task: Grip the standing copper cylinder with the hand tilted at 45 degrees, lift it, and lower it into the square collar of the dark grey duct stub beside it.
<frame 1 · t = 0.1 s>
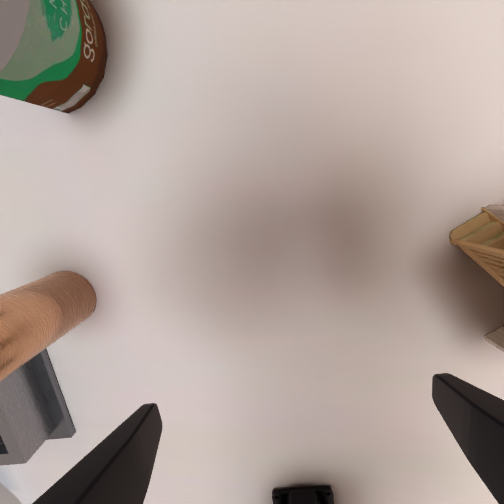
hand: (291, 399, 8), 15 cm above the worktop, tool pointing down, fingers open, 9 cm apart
food container: (80, 35, 19), on the worktop
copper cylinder: (69, 296, 24), on the worktop
duct stub: (2, 389, 26), on the worktop
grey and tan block: (478, 276, 23), on the worktop
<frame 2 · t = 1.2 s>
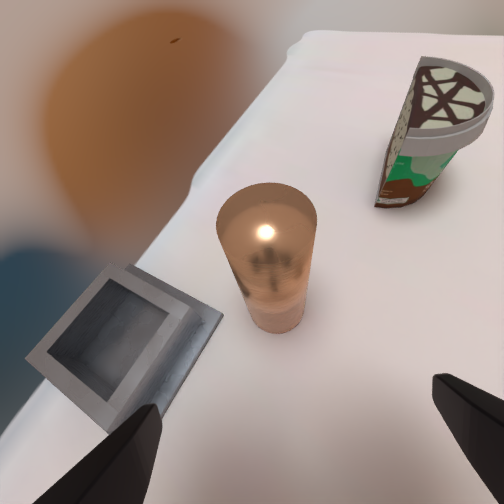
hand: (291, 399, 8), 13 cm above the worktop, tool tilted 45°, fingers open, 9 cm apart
food container: (408, 183, 30), on the worktop
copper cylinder: (276, 306, 24), on the worktop
duct stub: (135, 343, 24), on the worktop
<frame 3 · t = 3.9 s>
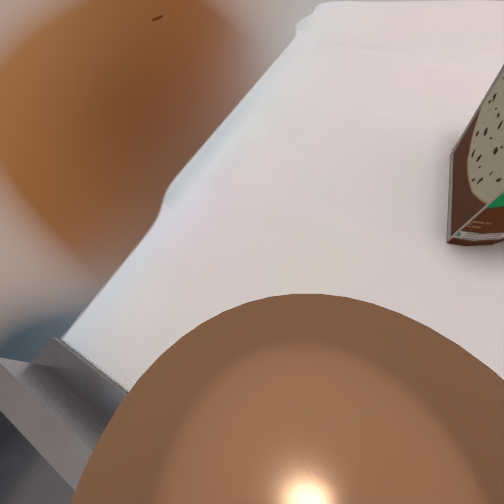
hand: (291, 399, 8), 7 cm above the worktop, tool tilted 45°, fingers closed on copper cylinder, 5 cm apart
food container: (494, 204, 19), on the worktop
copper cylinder: (294, 434, 13), on the worktop, touching gripper
duct stub: (38, 503, 13), on the worktop
when the fingers open (8 cm above the worktop, at t = 7.9 s): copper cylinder drops 1 cm, resting on duct stub.
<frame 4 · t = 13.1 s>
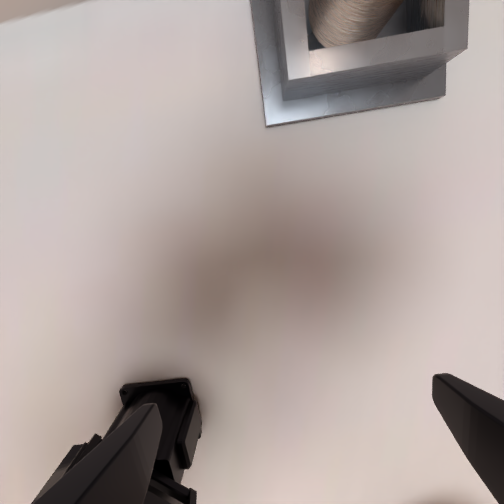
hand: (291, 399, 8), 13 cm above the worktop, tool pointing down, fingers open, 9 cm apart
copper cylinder: (348, 7, 16), point 1 cm above the worktop, touching duct stub
duct stub: (345, 12, 17), on the worktop
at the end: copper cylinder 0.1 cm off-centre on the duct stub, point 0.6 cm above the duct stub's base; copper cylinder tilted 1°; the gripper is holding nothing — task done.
